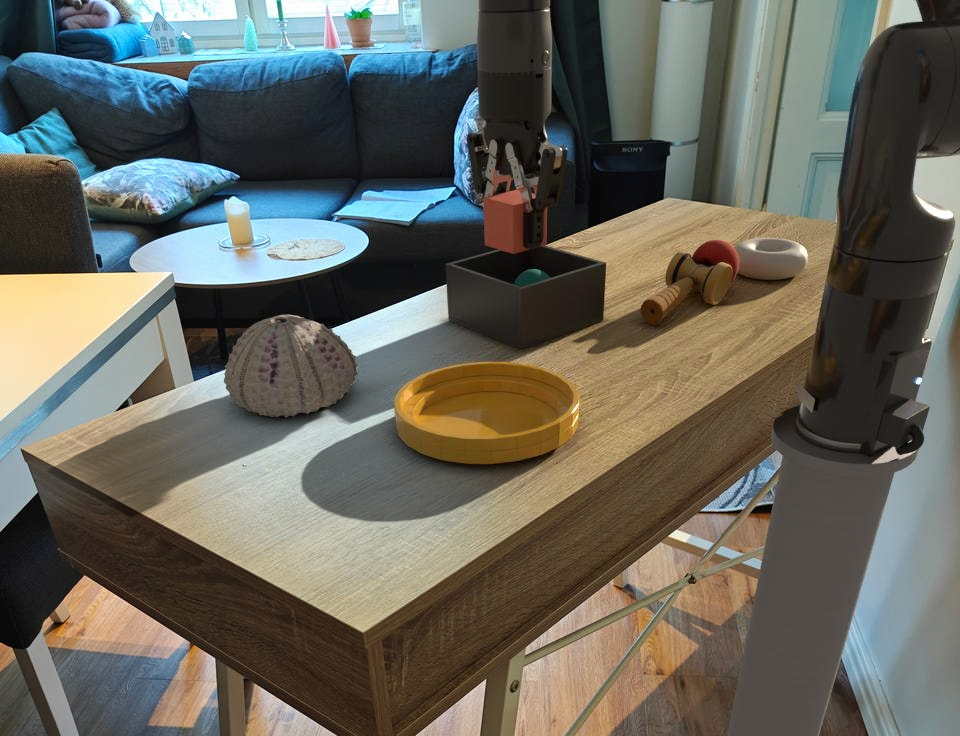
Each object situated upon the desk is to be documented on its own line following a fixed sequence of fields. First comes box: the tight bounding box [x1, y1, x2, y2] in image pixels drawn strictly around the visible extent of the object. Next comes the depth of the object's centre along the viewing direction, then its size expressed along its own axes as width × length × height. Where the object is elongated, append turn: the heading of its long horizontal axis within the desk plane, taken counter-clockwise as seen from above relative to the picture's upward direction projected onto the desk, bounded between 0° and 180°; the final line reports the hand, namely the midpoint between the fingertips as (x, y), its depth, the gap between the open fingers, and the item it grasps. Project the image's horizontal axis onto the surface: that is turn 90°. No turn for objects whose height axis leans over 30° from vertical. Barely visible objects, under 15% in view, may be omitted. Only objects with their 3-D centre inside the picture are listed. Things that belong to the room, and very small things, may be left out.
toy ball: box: [514, 269, 550, 287], centre depth 106 cm, size 5×5×5 cm
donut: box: [733, 237, 809, 281], centre depth 117 cm, size 10×4×10 cm
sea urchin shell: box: [223, 314, 359, 418], centre depth 89 cm, size 13×14×8 cm
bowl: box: [393, 361, 580, 465], centre depth 84 cm, size 17×17×3 cm
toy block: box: [482, 189, 548, 254], centre depth 99 cm, size 5×5×5 cm
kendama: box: [640, 239, 739, 326], centre depth 108 cm, size 8×6×18 cm
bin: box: [444, 245, 607, 350], centre depth 105 cm, size 13×13×7 cm
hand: (515, 241), depth 101 cm, fingers closed on toy block, 5 cm apart
